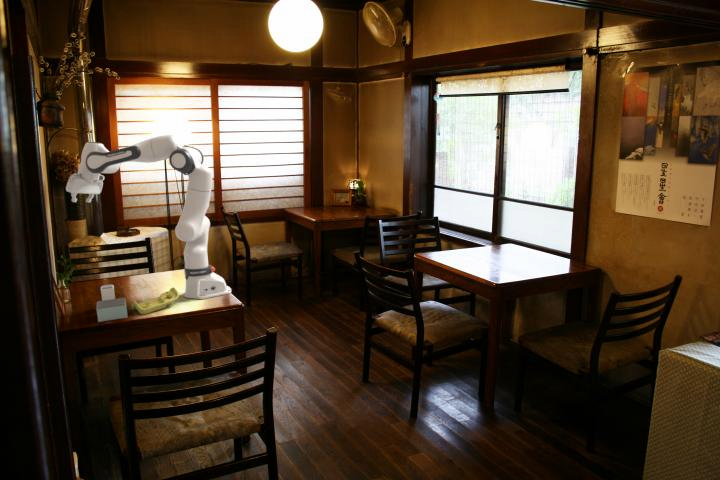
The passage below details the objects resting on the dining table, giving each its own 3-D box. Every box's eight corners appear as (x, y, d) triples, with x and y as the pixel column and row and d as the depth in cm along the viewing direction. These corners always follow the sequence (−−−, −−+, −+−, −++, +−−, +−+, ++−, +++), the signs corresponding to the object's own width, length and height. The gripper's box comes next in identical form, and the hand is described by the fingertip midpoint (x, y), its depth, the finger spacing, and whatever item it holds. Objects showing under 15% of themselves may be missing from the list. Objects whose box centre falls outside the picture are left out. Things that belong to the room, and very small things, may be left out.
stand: (126, 309, 273) (125, 297, 272) (127, 317, 263) (126, 304, 261) (98, 314, 269) (96, 301, 268) (98, 321, 258) (96, 308, 257)
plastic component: (141, 310, 264) (131, 297, 269) (141, 323, 268) (131, 309, 273) (182, 297, 277) (172, 285, 282) (181, 309, 281) (171, 296, 286)
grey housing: (116, 305, 281) (113, 283, 279) (116, 308, 276) (113, 286, 273) (103, 307, 279) (100, 285, 277) (103, 310, 274) (100, 288, 271)
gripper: (77, 174, 276) (70, 203, 277) (107, 177, 295) (100, 204, 297) (66, 171, 277) (59, 199, 279) (96, 174, 297) (90, 200, 298)
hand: (81, 202), depth 288 cm, fingers open, 8 cm apart
